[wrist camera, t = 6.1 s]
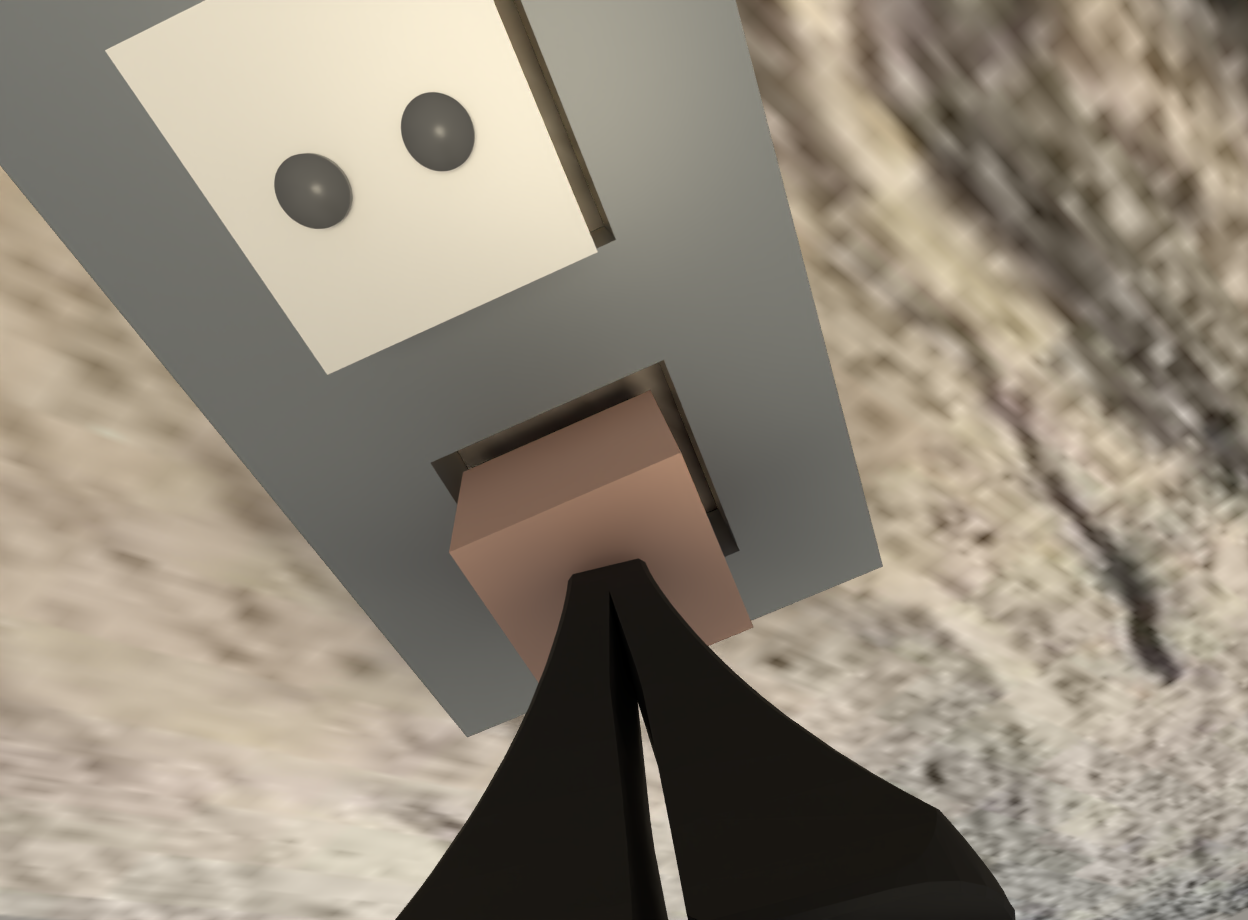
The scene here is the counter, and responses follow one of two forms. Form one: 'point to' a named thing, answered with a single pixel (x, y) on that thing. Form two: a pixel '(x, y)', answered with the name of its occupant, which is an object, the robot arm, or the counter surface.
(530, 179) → the key two
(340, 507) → the keypad
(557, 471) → the key one
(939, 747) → the counter surface
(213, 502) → the counter surface
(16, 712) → the counter surface
